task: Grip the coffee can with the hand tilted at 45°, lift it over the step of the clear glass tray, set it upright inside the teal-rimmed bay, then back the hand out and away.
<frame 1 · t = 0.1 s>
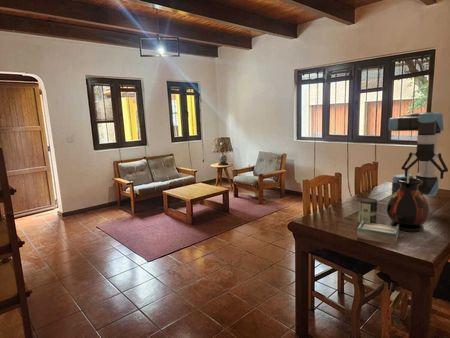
hand: (422, 183, 157), 28 cm above the table, tool pointing down, fingers open, 13 cm apart
amphora vase: (406, 228, 172), on the table
coffee can: (367, 222, 183), on the table
clear glass tray: (378, 235, 162), on the table
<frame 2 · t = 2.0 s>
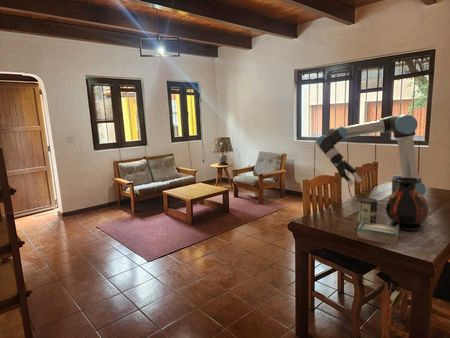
hand: (356, 183, 184), 24 cm above the table, tool tilted 40°, fingers open, 13 cm apart
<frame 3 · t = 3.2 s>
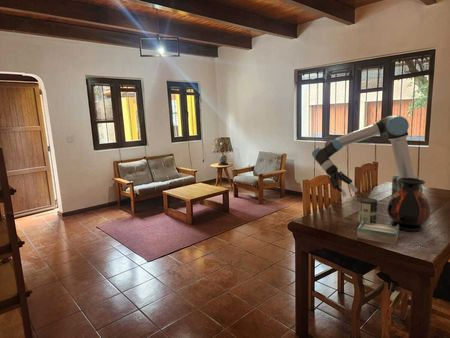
hand: (350, 193, 188), 16 cm above the table, tool tilted 45°, fingers open, 13 cm apart
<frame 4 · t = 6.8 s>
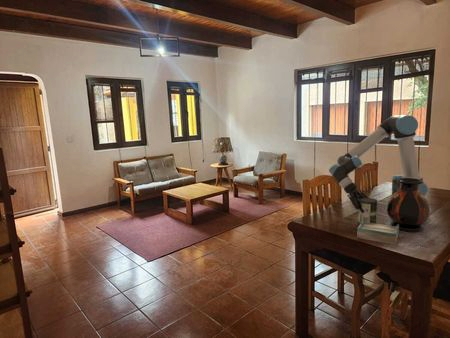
hand: (372, 214, 180), 5 cm above the table, tool tilted 45°, fingers closed on coffee can, 10 cm apart
coffee can: (367, 222, 183), on the table, touching gripper
everything else where it was.
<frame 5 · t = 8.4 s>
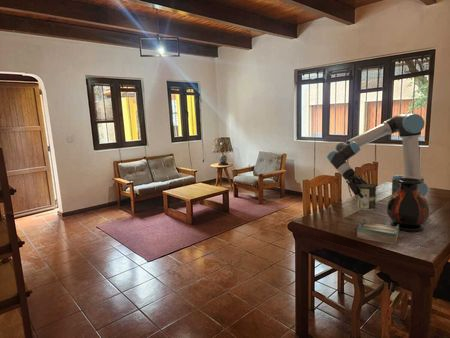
hand: (371, 200, 178), 15 cm above the table, tool tilted 45°, fingers closed on coffee can, 10 cm apart
coffee can: (366, 208, 182), point 9 cm above the table, touching gripper
everything else where it was.
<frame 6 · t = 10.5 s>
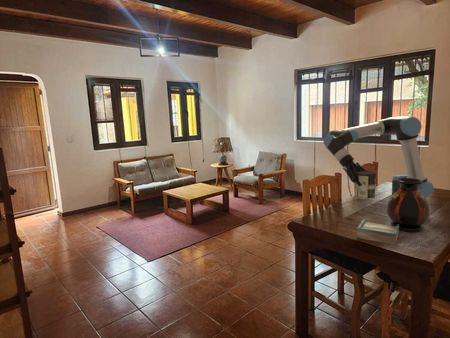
hand: (370, 188, 163), 25 cm above the table, tool tilted 45°, fingers closed on coffee can, 10 cm apart
coffee can: (364, 197, 166), point 19 cm above the table, touching gripper
everything else where it was.
when the fingers open (11 cm above the table, at t = 14.4 s): coffee can drops 1 cm, resting on clear glass tray.
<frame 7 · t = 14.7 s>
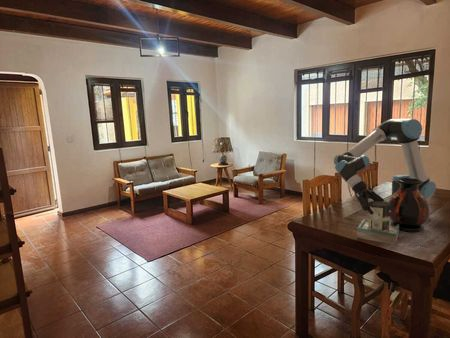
hand: (383, 215, 158), 12 cm above the table, tool tilted 45°, fingers open, 13 cm apart
coffee can: (378, 228, 162), point 4 cm above the table, touching clear glass tray
everything else where it was.
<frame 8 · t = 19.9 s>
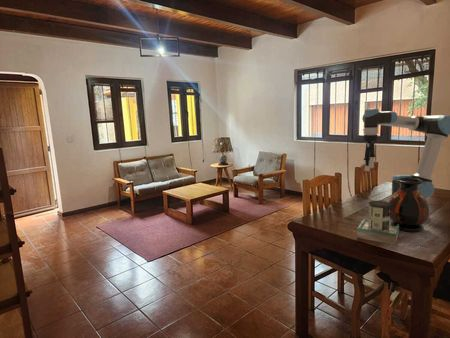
hand: (369, 169, 184), 32 cm above the table, tool pointing down, fingers open, 13 cm apart
nothing on the table moved.
at the end: coffee can inside the target area on the clear glass tray (0.2 cm from its centre), point 3.8 cm above the clear glass tray's base; coffee can tilted 0°; the gripper is holding nothing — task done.
